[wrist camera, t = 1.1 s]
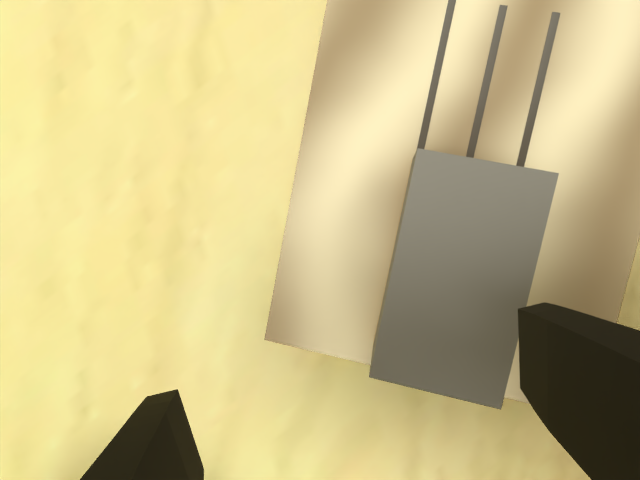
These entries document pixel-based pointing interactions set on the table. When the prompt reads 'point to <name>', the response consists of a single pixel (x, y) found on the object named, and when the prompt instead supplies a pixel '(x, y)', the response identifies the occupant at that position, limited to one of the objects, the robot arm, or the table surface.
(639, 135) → the board
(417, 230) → the block
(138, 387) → the table surface
